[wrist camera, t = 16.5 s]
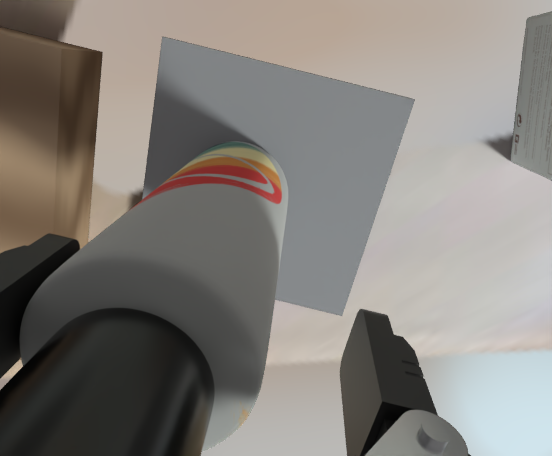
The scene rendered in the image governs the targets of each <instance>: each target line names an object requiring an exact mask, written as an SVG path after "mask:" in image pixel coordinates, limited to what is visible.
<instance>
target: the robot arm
mask: <svg viewBox="0 0 552 456" xmlns="http://www.w3.org/2000/svg"><path fill="white" fill-rule="evenodd" d="M79 250H80V244H79V241H78V240H76V239H72V238H68V237H64V236H60V235H56V234H52V233H48V234H46V235H44V236H43V237H41V238H40V239H38V240H37V241H35V242H33V243H32V244H30V245H29V246H26V245H24V246H20V247H17V248H14V249H10V250H7V251H4V252H2V253H0V378H1V377H2V376H3V375H4V374H5V373H6V372H7V371H8V370H9V369H10V368H11V367H12V366H13V365H14V364H15V363H16V362H17V361H18V360H19V359H20V358H21V353H20V328H21V323H22V318H23V315H24V312H25V310H26V308H27V305H28V303H29V301H30V300H31V298H32V297H33V295H34V294H35V292H36V291H37V290H38V288H39V287H40V286H41V284H42V283H43V282H44V281H45V280H46V279H47V278H48V277H49V276H50V275H51V274H52V273H53V272H54V271H56V270H57V269H58V268H59V267H60V266H61V265H62V264H63V263H65V262H66V261H67V260H68V259H69V258H71V257H72V256H73V255H74V254H75V253H77V252H78V251H79ZM340 381H341V392H342V404H343V415H344V426H345V437H346V447H347V456H471V455H469V454H468V449H467V446H466V443H465V441H464V439H463V438H462V436H461V435H460V434H459V432H458V431H457V430H456V429H455V428H454V427H453V426H452V425H451V424H450V423H448V422H447V421H446V420H444V419H442V418H441V417H439V416H438V415H437V412H436V409H435V407H434V404H433V401H432V398H431V395H430V392H429V390H428V387H427V384H426V382H425V379H424V378H423V373H422V370H421V368H420V367H419V362H418V359H417V356H416V354H415V351H414V350H413V348H412V347H411V346H410V345H409V344H408V343H407V341H406V340H405V339H404V338H403V337H401V336H396V335H394V334H393V331H392V328H391V324H390V321H389V318H388V316H387V315H385V314H381V313H376V312H372V311H368V310H364V309H360V310H359V312H358V313H357V316H356V318H355V321H354V324H353V327H352V330H351V333H350V336H349V338H348V341H347V344H346V347H345V350H344V353H343V356H342V360H341V367H340Z"/></svg>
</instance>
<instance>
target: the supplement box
mask: <svg viewBox="0 0 552 456" xmlns="http://www.w3.org/2000/svg"><path fill="white" fill-rule="evenodd" d="M511 162H512V163H514V164H517V165H519V166H521V167H523V168H525V169H527V170H530V171H532V172H534V173H537V174H539V175H541V176H543V177H545V178H547V179H549V180H551V181H552V12H548V13H544V14H541V15H537V16H532V17H529V18H528V19H527V21H526V29H525V37H524V44H523V53H522V61H521V71H520V79H519V87H518V96H517V105H516V113H515V122H514V131H513V141H512V149H511Z"/></svg>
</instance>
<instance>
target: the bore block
mask: <svg viewBox="0 0 552 456" xmlns="http://www.w3.org/2000/svg"><path fill="white" fill-rule="evenodd" d="M101 65H102V52H100V51H96V50H92V49H88V48H84V47H80V46H76V45H72V44H68V43H64V42H60V41H56V40H52V39H48V38H44V37H40V36H36V35H32V34H28V33H24V32H20V31H16V30H12V29H8V28H3V27H0V253H2V252H4V251H7V250H10V249H14V248H17V247H20V246H24V245H26V246H29V245H30V244H32V243H33V242H35V241H37V240H38V239H40V238H41V237H43V236H44V235H46V234H48V233H52V234H56V235H60V236H64V237H68V238H72V239H76V240H78V241H79V244H80V249H81V248H83V247H84V246H85V245H86V244H88V232H89V219H90V206H91V194H92V181H93V167H94V155H95V142H96V129H97V117H98V104H99V103H98V102H99V90H100V77H101ZM20 360H22V359H21V358H20Z"/></svg>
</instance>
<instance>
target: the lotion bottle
mask: <svg viewBox="0 0 552 456" xmlns="http://www.w3.org/2000/svg"><path fill="white" fill-rule="evenodd" d="M287 207H288V186H287V181H286V178H285V175H284V173H283V171H282V169H281V167H280V165H279V164H278V162H277V161H276V160H275V159H274V158H273V157H272V156H271V155H270V154H269V153H267V152H266V151H265V150H263V149H262V148H260V147H258V146H255V145H253V144H250V143H246V142H239V141H231V142H224V143H220V144H217V145H215V146H212V147H210V148H208V149H207V150H205V151H204V152H202V153H201V154H199V155H198V156H197V157H195V158H194V159H193V160H192V161H190V162H189V163H188V164H187V165H185V166H184V167H183V168H181V169H180V170H179V171H178V172H176V173H175V174H174V175H173V176H171V177H170V178H169V179H168V180H166V181H165V182H164V183H163V184H161V185H160V186H159V187H158V188H156V189H155V190H154V191H153V192H151V193H150V194H149V195H148V196H146V197H145V198H144V199H143V200H141V201H140V202H139V203H138V204H136V205H135V206H134V207H133V208H131V209H130V210H129V211H128V212H126V213H125V214H124V215H123V216H121V217H120V218H119V219H118V220H116V221H115V222H114V223H113V224H111V225H110V226H109V227H108V228H106V229H105V230H104V231H103V232H101V233H100V234H99V235H98V236H96V237H95V238H94V239H93V240H91V241H90V242H89V243H88V244H86V245H85V246H84V247H83V248H81V249H80V250H79V251H78V252H77V253H75V254H74V255H73V256H72V257H71V258H69V259H68V260H67V261H66V262H65V263H63V264H62V265H61V266H60V267H59V268H58V269H57V270H56V271H54V272H53V273H52V274H51V275H50V276H49V277H48V278H47V279H46V280H45V281H44V282H43V283H42V284H41V286H40V287H39V288H38V290H37V291H36V292H35V294H34V295H33V297H32V298H31V300H30V301H29V303H28V305H27V308H26V310H25V312H24V315H23V318H22V323H21V328H20V353H21V359H22V364H23V367H22V368H21V369H20V370H19V371H18V372H17V373H16V374H15V375H14V376H13V378H12V379H11V380H10V381H9V382H8V383H7V384H6V385H5V386H4V387H3V388H2V389H1V390H0V456H201V452H202V451H205V450H207V449H209V448H212V447H214V446H215V445H217V444H219V443H220V442H222V441H224V440H225V439H227V438H228V437H229V436H230V435H232V434H233V433H234V432H235V431H236V430H237V429H238V428H239V427H240V426H241V425H242V424H243V423H244V421H245V420H246V419H247V417H248V416H249V414H250V413H251V411H252V409H253V407H254V405H255V402H256V400H257V397H258V394H259V392H260V388H261V384H262V379H263V375H264V370H265V364H266V358H267V351H268V344H269V338H270V331H271V324H272V316H273V309H274V302H275V295H276V287H277V280H278V273H279V266H280V259H281V251H282V244H283V237H284V230H285V222H286V215H287Z"/></svg>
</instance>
